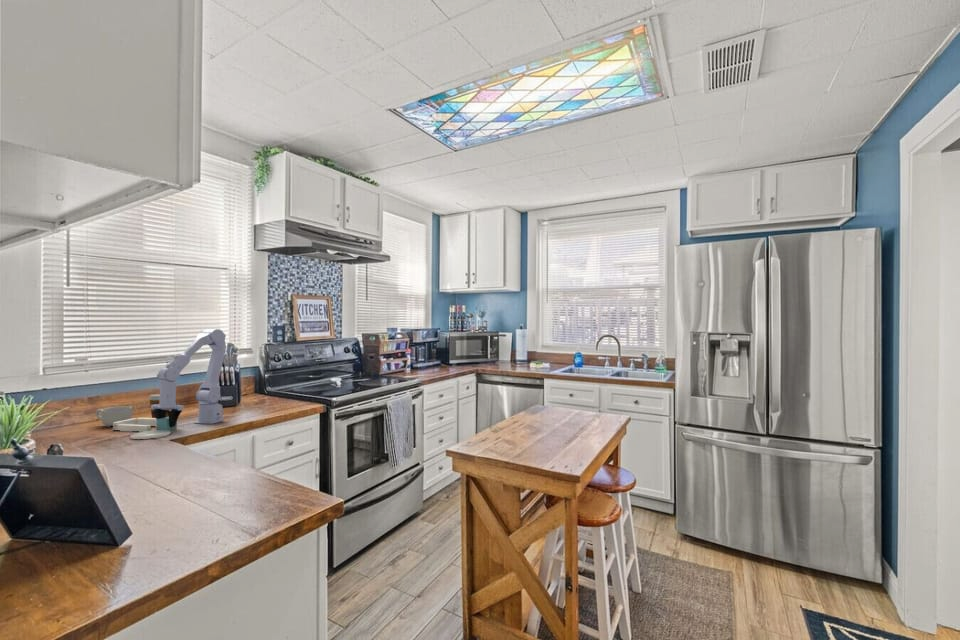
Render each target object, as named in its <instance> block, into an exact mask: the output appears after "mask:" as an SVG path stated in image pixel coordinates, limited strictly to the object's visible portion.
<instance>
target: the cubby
mask: <svg viewBox="0 0 960 640" xmlns="http://www.w3.org/2000/svg"><path fill="white" fill-rule="evenodd" d="M151 426H156V427H155V428H157V419H156V418H152V417H135V418H134V417H133V418H131V419H128V420H123V421H118V422H113V427H112V431H113V430H120V431H119V432H132V431H139V432H145V431H152V427H151ZM139 432H138V433H139Z"/></svg>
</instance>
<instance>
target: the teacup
mask: <svg viewBox="0 0 960 640" xmlns="http://www.w3.org/2000/svg"><path fill="white" fill-rule="evenodd" d="M100 412H101V413H100ZM132 414H133V407H132V406H130V405H128V406H127V405H125V406H123V405H120V406H111V407H105V408H99V409H97V410H96V411H95V416H96V418H97V419H99V420H101V424H102V425H104V426H105V427H107V426H108V428H111V427H110V426H113V422H118V421H123V420H128V419H132V417H133V415H132Z"/></svg>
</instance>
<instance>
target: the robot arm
mask: <svg viewBox="0 0 960 640" xmlns="http://www.w3.org/2000/svg"><path fill="white" fill-rule="evenodd" d="M226 337H227V336H226V334H225V333H224V332H223V330H222V329H220V328H219V329H218V328H216V329H215V328H214V329H207V328H204V329H202V330H201V331H200V332H199V333H198V334H197V335H196V338H195V339H194V340H193V341H192V342H191V343H190V345H189V346H188V347H187V348H186V349H185V350H184V352H183V353H178V354H175V355H174V356H173V359H172V360H170V362H169V363H167V364H165V367H163V368H160V370H159V371H158V373H157V374H156V378H157V379H158V381H159V394H160V400H159V404H155V405H151V407H150V411H151V410H153V409H155V411H153V412H152V413H153V414H154V415H155V417H156V419H160V418H165V416H166V413H168V417H169V426H170V427H174V426H175V425H176V422H177V423H178V419H179V416H180V415H181V413H182V412H183V411H184V410H185V406H184V405H181V404H176V402H177V401H176V398H177V395H176V394H177V380H178V379H179V378H180V375H181V372H182V371H183V370H184V369H185V368H186V367H187V366H188V364H189V363H190V362H191V357H193V355H195V354H196V353H197V352H198V351H199V350H200V349H201V348H202V347H203V346H206V345H207V346H209V348H210V349H211V354H210V359H209V363H208V366H207V370H206V373H205V374H206V375H205V378H204V381H203V383H202V384H200V386H199V389H198V390H197V392H196V393H195V399H196V400H197V401H198V420H197V421H194V422H193V424H202V425H203V424H205V425H210V424H211V425H212V424H217V423H220V422H224V419H223V418H224V417H223V414H224V413H223V412H224V408H223V405H222V404H220V403H218V401H220V399H221V396H222V395H221V386H220V385H219V384H218V383H219V379H220V377H221V376H220V375H221V371H222V366H223V364H224V363H223V362H224V360H225V359H224V358H225V353H226V350H227V345H226ZM167 410H170V411H167Z"/></svg>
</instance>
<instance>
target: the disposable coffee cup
mask: <svg viewBox="0 0 960 640" xmlns="http://www.w3.org/2000/svg"><path fill="white" fill-rule="evenodd" d="M148 400H149V405H150V408H151V405H155V404H159V400H160V393H156V394H155V393H154V394H150V395H149V397H148ZM153 411H155V409H153V410H151V409H150V414H151V418H156V417H155V415H154V414H153V413H152V412H153ZM167 411H171V410H167ZM165 417H169V416H168V413H166V416H165Z"/></svg>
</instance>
